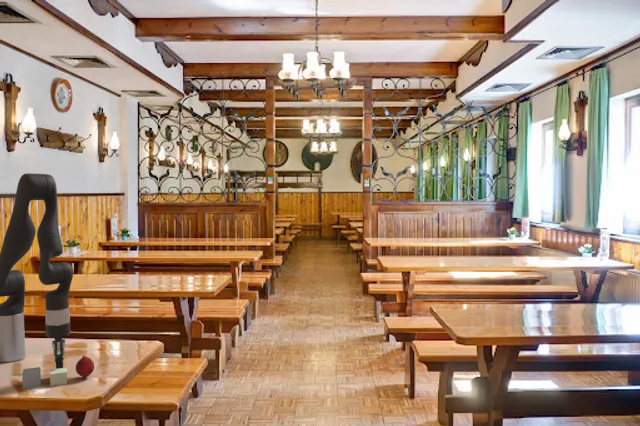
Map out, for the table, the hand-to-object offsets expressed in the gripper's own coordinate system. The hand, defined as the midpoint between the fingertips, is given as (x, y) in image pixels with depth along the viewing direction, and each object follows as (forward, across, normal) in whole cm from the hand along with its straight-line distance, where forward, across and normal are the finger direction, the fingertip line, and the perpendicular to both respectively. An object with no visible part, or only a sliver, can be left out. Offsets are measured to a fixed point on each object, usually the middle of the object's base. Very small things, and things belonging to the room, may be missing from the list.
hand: (59, 371), depth 191 cm
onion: (+2, +5, +8) cm, 10 cm away
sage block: (+2, +6, 0) cm, 6 cm away
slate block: (+2, +5, -8) cm, 10 cm away
